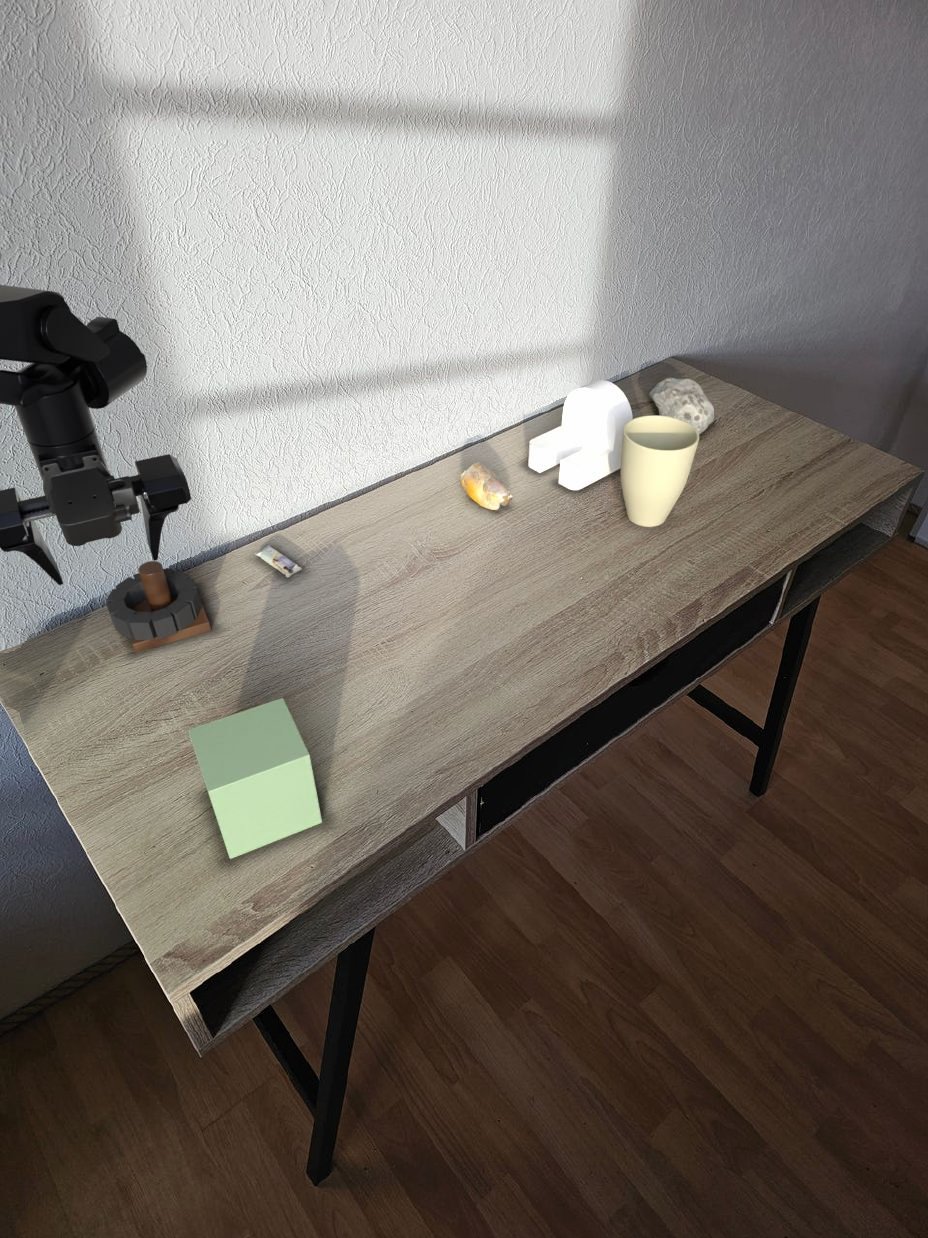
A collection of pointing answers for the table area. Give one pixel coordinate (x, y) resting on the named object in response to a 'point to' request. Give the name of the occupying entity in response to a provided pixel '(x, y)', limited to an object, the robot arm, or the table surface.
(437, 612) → the table surface
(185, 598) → the chunky treaded tire
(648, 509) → the mug
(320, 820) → the riser box
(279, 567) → the granola bar
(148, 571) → the stand
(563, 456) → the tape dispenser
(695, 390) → the decorative stone
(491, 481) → the shell
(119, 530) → the robot arm
